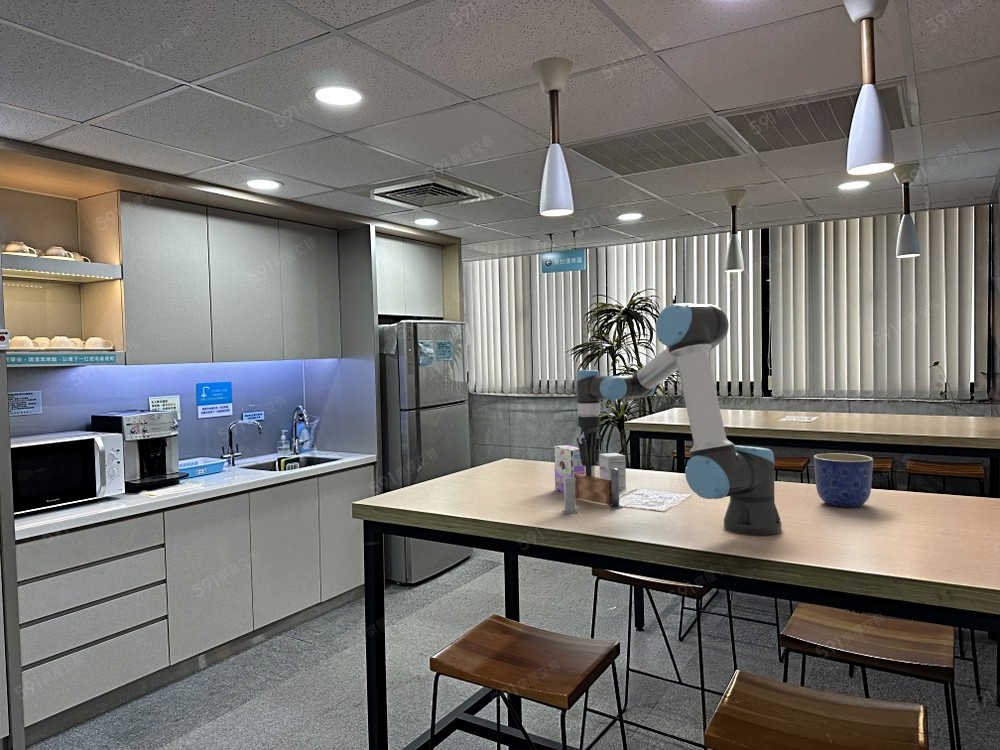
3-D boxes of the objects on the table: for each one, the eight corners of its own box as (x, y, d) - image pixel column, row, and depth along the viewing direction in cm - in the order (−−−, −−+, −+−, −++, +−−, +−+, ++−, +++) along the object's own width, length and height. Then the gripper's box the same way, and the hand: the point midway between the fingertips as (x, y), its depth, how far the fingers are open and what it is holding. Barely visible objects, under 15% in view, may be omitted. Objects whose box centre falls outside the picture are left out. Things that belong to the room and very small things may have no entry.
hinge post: (622, 508, 218) (622, 469, 217) (611, 508, 217) (611, 469, 217) (619, 505, 221) (618, 467, 221) (608, 506, 221) (607, 467, 220)
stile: (578, 513, 212) (577, 478, 212) (564, 513, 212) (564, 479, 211) (575, 510, 216) (574, 476, 215) (561, 511, 215) (561, 477, 215)
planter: (859, 513, 204) (859, 463, 204) (804, 504, 218) (803, 457, 217) (882, 504, 215) (882, 456, 215) (828, 496, 228) (828, 451, 228)
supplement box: (599, 487, 253) (598, 453, 252) (617, 485, 255) (616, 452, 255) (608, 490, 246) (607, 456, 245) (626, 489, 248) (626, 455, 248)
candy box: (586, 495, 239) (585, 448, 239) (571, 496, 237) (571, 449, 237) (568, 488, 252) (567, 444, 252) (554, 489, 250) (553, 445, 250)
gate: (612, 504, 221) (612, 479, 221) (609, 505, 220) (609, 480, 220) (578, 497, 233) (577, 473, 233) (574, 498, 232) (574, 474, 232)
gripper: (589, 413, 236) (590, 480, 237) (569, 416, 226) (570, 486, 227) (608, 414, 232) (609, 482, 232) (588, 417, 221) (590, 489, 222)
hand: (590, 484), depth 230 cm, fingers closed
